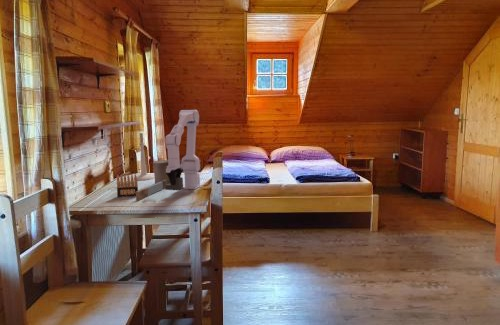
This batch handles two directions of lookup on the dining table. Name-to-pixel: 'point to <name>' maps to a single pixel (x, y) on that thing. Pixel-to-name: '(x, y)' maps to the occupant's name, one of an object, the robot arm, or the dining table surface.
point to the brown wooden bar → (146, 192)
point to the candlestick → (143, 163)
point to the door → (155, 188)
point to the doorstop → (177, 185)
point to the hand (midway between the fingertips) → (175, 183)
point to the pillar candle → (160, 171)
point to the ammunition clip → (127, 186)
